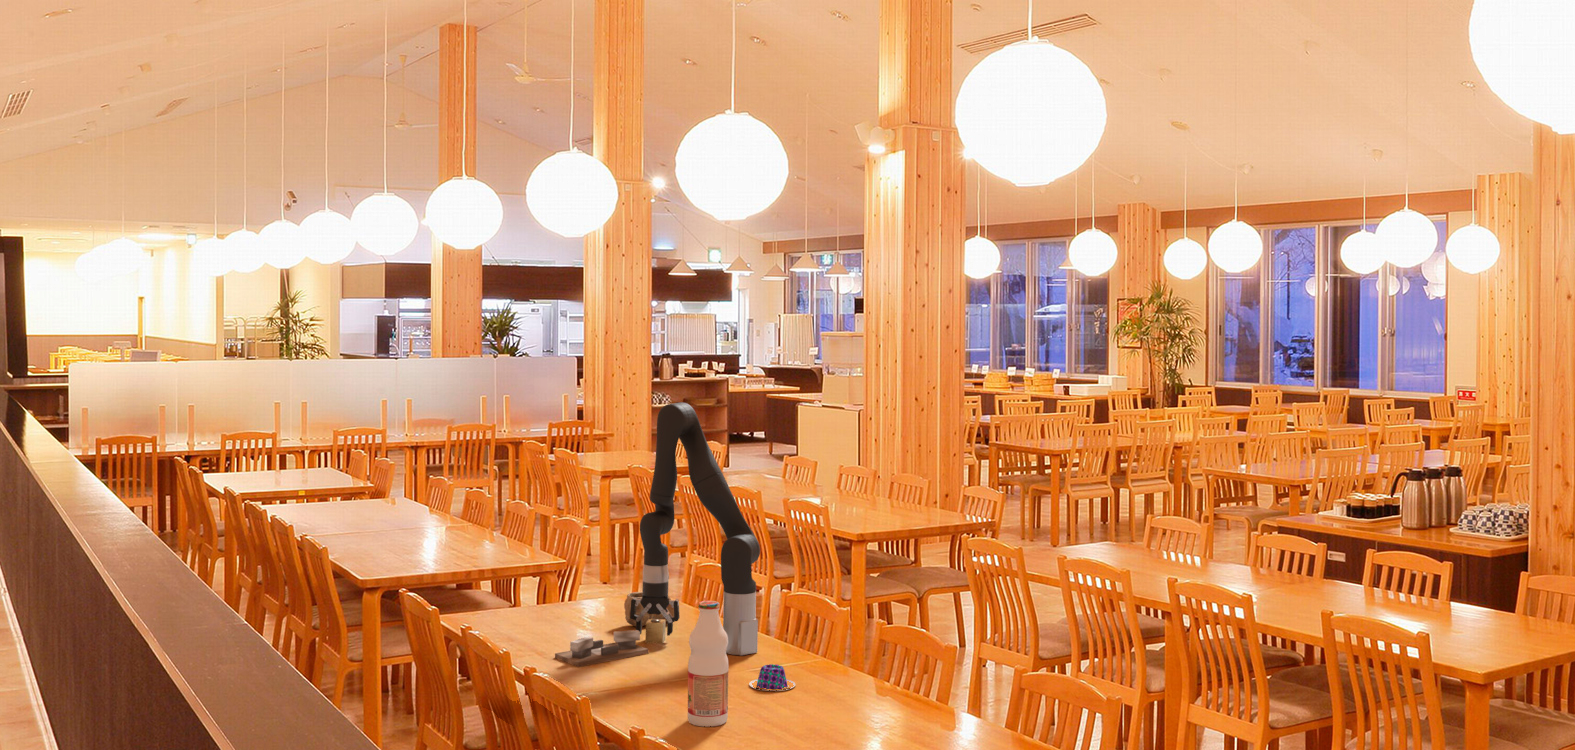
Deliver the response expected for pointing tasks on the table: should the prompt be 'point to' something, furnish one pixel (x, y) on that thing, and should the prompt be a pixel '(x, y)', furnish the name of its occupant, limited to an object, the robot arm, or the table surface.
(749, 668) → the table surface
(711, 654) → the fruit juice
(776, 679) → the pudding
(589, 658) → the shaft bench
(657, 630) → the tan knob block
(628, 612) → the pipe
